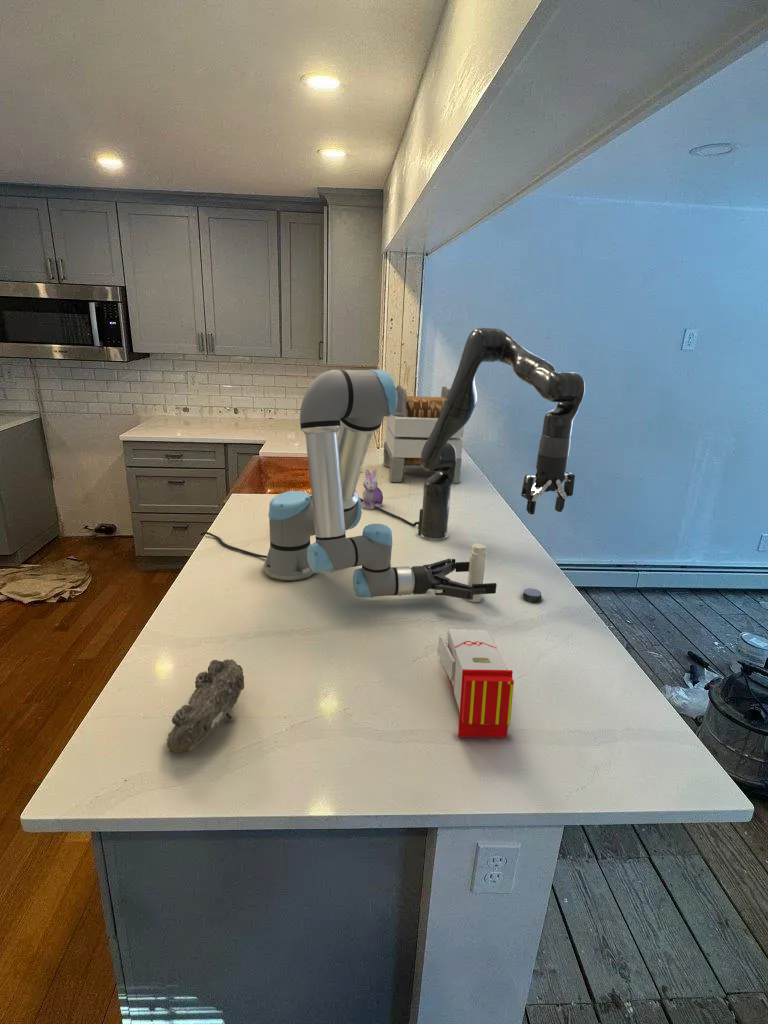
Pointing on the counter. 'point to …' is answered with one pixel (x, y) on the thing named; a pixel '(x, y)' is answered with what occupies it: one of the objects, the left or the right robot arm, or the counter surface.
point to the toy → (478, 682)
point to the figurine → (371, 491)
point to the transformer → (415, 432)
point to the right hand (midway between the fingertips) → (544, 512)
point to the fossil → (206, 705)
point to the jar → (476, 568)
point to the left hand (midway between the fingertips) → (486, 576)
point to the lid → (532, 595)
